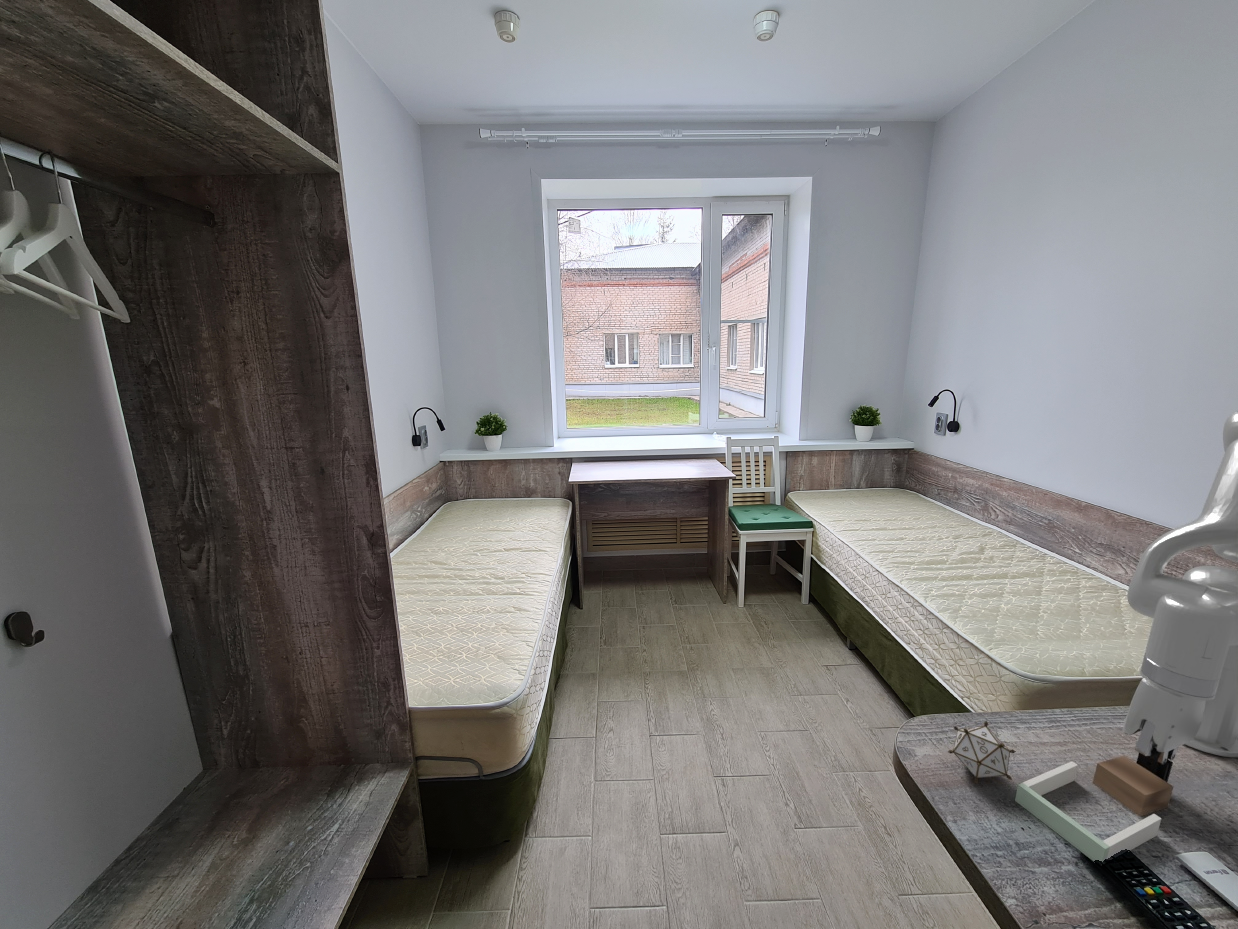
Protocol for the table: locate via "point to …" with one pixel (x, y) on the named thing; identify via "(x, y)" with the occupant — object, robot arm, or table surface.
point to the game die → (981, 752)
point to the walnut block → (1132, 785)
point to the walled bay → (1069, 828)
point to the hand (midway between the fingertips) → (1150, 776)
